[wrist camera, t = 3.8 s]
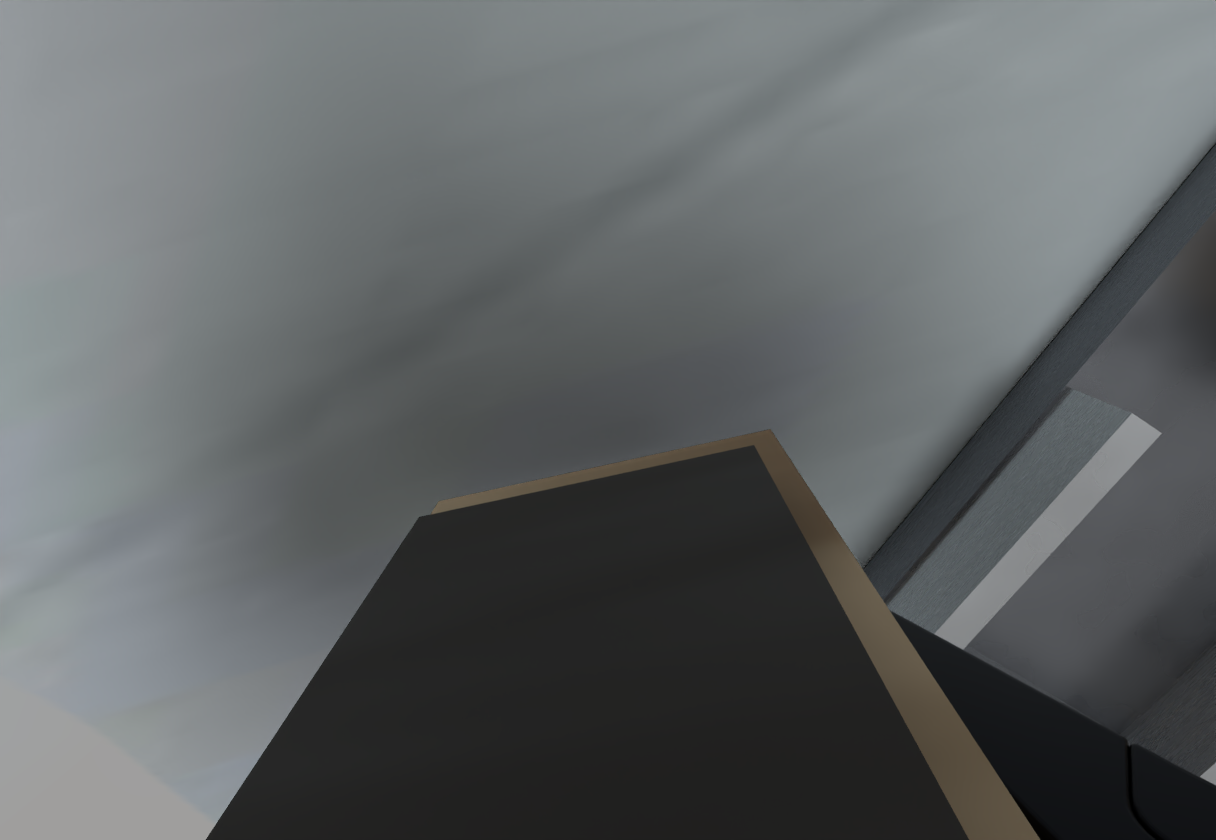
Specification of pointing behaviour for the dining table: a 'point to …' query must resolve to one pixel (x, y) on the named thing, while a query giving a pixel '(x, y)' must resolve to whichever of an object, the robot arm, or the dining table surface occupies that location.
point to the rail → (1094, 505)
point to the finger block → (626, 678)
